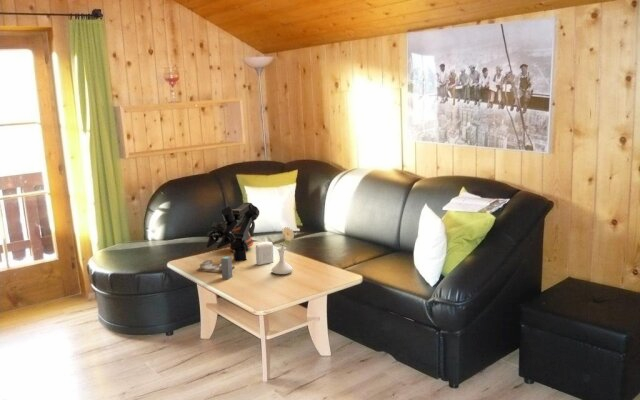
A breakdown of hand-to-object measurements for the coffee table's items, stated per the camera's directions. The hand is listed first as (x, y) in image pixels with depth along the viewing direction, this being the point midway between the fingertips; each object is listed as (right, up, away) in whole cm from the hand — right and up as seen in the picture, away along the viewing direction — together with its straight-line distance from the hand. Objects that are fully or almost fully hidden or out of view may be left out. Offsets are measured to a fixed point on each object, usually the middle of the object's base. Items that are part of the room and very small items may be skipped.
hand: (212, 247), depth 321 cm
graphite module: (+9, -15, -7) cm, 19 cm away
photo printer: (+27, -10, +16) cm, 33 cm away
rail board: (+1, -13, +7) cm, 15 cm away
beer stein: (+12, -3, +45) cm, 46 cm away
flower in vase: (+39, -14, -1) cm, 41 cm away
